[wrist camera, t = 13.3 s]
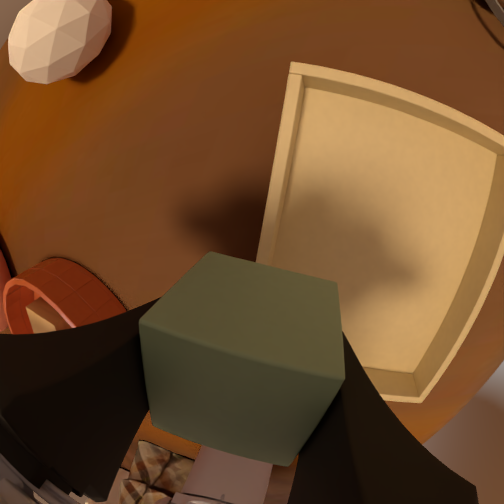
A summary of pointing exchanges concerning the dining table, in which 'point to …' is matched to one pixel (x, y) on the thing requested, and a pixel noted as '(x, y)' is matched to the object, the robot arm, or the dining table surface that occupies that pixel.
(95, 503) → the cup
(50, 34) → the geometric ball
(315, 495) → the robot arm
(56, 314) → the block
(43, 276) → the bowl
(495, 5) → the alarm clock
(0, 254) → the teapot
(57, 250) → the dining table surface
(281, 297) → the block
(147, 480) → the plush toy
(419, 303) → the beige rectangular tray
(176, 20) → the dining table surface
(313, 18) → the dining table surface
